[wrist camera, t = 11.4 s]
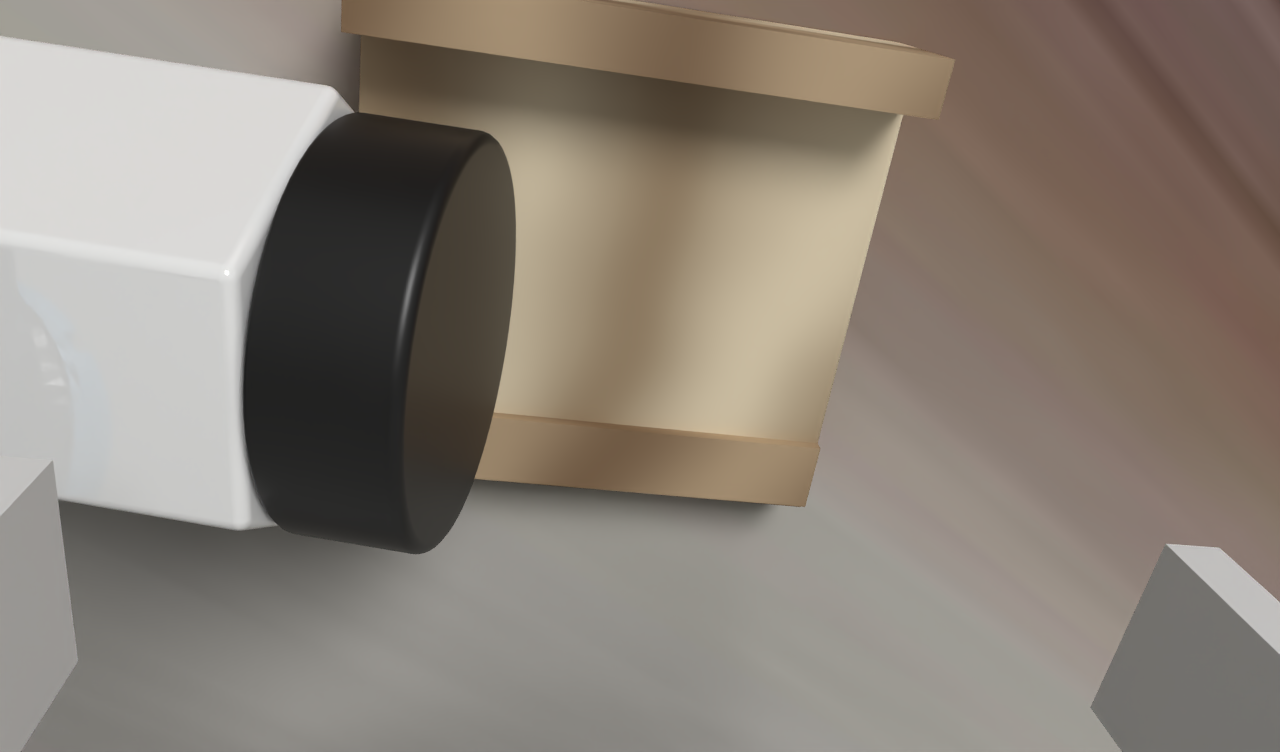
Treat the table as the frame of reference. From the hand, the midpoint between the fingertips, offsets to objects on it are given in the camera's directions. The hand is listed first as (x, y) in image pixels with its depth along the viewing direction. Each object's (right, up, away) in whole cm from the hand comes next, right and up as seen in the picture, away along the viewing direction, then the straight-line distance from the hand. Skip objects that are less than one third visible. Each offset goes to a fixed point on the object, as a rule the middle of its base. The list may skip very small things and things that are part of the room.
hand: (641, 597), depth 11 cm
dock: (-1, +6, +12) cm, 14 cm away
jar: (-15, +5, +7) cm, 18 cm away
